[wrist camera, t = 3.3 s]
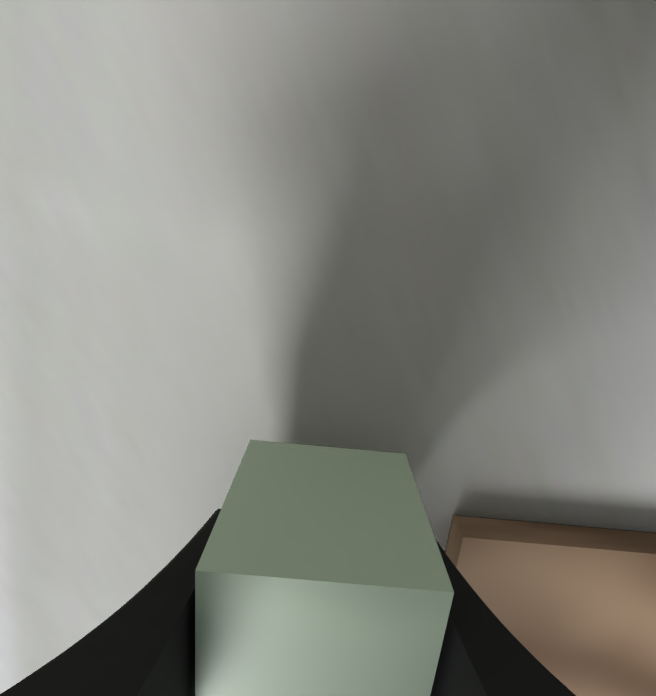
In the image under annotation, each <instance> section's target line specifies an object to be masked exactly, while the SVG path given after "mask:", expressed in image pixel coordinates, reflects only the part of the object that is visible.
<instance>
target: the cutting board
mask: <svg viewBox="0 0 656 696" xmlns="http://www.w3.org/2000/svg"><path fill="white" fill-rule="evenodd" d="M445 553H446V554H447V556H448V557H449V558H450V560H451V561H452V563H453V564H454V565H455V567H456V568H457V569H458V570H459V572H460V573H461V574H462V576H463V577H464V578H465V579H466V581H467V582H468V583H469V585H470V586H471V587H472V588H473V590H474V591H475V592H476V593H477V595H478V596H479V597H480V598H481V599H482V601H483V602H484V603H485V604H486V605H487V607H488V608H489V609H490V610H491V611H492V612H493V614H494V615H495V616H496V617H497V618H498V619H499V620H500V622H501V623H502V624H503V625H504V626H505V627H506V628H507V629H508V630H509V631H510V632H511V634H512V635H513V636H514V637H515V638H516V639H517V640H518V641H519V642H520V643H521V644H522V645H523V646H524V647H525V648H526V649H527V650H528V651H529V652H530V653H531V654H532V655H533V656H534V657H535V658H536V659H537V660H538V661H539V662H540V663H541V664H542V665H543V666H544V667H545V668H546V669H547V670H548V671H550V672H551V673H552V674H553V675H554V676H555V677H556V678H557V679H558V680H559V681H560V682H562V683H563V684H564V685H565V686H566V687H567V688H568V689H569V690H570V691H571V692H573V693H574V694H575V695H576V696H656V533H649V532H638V531H626V530H615V529H604V528H592V527H581V526H569V525H558V524H547V523H535V522H524V521H512V520H501V519H490V518H478V517H467V516H455V515H453V519H452V524H451V528H450V533H449V538H448V542H447V547H446V551H445Z"/></svg>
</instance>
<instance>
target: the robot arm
mask: <svg viewBox="0 0 656 696" xmlns="http://www.w3.org/2000/svg"><path fill="white" fill-rule="evenodd" d="M220 511H221V509H218V510H217V511H215V512H214V514H213V515H212V516H211V517H210V518H209V520H208V521H207V522H206V523H205V524H204V526H203V527H202V528H201V529H200V530H199V531H198V532H197V534H196V535H195V536H194V537H193V538H192V539H191V540H190V541H189V543H188V544H187V545H186V546H185V547H184V548H183V549H182V550H181V551H180V552H179V553H178V554H177V555H176V556H175V557H174V558H173V559H172V560H171V561H170V562H169V564H168V565H167V566H166V567H164V568H163V569H162V570H161V571H160V572H159V573H158V574H157V575H156V576H155V577H154V578H153V579H152V580H151V581H150V582H149V583H148V584H147V585H146V586H145V587H144V588H143V589H141V590H140V591H139V592H138V593H137V594H136V595H135V596H134V597H133V598H131V599H130V600H129V601H128V602H127V603H126V604H124V605H123V606H122V607H121V608H120V609H119V610H117V611H116V612H115V613H114V614H113V615H111V616H110V617H109V618H108V619H106V620H105V621H104V622H103V623H101V624H100V625H99V626H97V627H96V628H95V629H94V630H92V631H91V632H90V633H88V634H87V635H86V636H85V637H83V638H82V639H81V640H79V641H78V642H77V643H75V644H74V645H73V646H71V647H70V648H69V649H67V650H66V651H64V652H63V653H62V654H60V655H59V656H57V657H56V658H54V659H53V660H51V661H50V662H48V663H47V664H45V665H44V666H43V667H41V668H40V669H38V670H37V671H35V672H34V673H32V674H31V675H29V676H28V677H26V678H25V679H23V680H22V681H20V682H19V683H17V684H16V685H14V686H13V687H11V688H10V689H8V690H6V691H5V692H3V693H1V694H0V696H195V570H196V567H197V565H198V563H199V560H200V558H201V556H202V553H203V551H204V549H205V546H206V544H207V542H208V539H209V537H210V534H211V532H212V530H213V527H214V525H215V523H216V520H217V518H218V516H219V513H220ZM436 542H437V541H436ZM437 545H438V548H439V551H440V554H441V556H442V559H443V562H444V565H445V568H446V571H447V573H448V576H449V579H450V582H451V585H452V588H453V590H454V595H453V600H452V604H451V608H450V613H449V617H448V621H447V626H446V630H445V634H444V639H443V643H442V647H441V652H440V656H439V660H438V665H437V669H436V673H435V678H434V682H433V686H432V691H431V695H430V696H576V695H575V694H574V693H573V692H571V691H570V690H569V689H568V688H567V687H566V686H565V685H564V684H563V683H562V682H560V681H559V680H558V679H557V678H556V677H555V676H554V675H553V674H552V673H551V672H550V671H548V670H547V669H546V668H545V667H544V666H543V665H542V664H541V663H540V662H539V661H538V660H537V659H536V658H535V657H534V656H533V655H532V654H531V653H530V652H529V651H528V650H527V649H526V648H525V647H524V646H523V645H522V644H521V643H520V642H519V641H518V640H517V639H516V638H515V637H514V636H513V635H512V634H511V632H510V631H509V630H508V629H507V628H506V627H505V626H504V625H503V624H502V623H501V622H500V620H499V619H498V618H497V617H496V616H495V615H494V614H493V612H492V611H491V610H490V609H489V608H488V607H487V605H486V604H485V603H484V602H483V601H482V599H481V598H480V597H479V596H478V595H477V593H476V592H475V591H474V590H473V588H472V587H471V586H470V585H469V583H468V582H467V581H466V579H465V578H464V577H463V576H462V574H461V573H460V572H459V570H458V569H457V568H456V567H455V565H454V564H453V563H452V561H451V560H450V558H449V557H448V556H447V554H446V553H445V552H444V550H443V549H442V548H441V546H440V545H439V543H438V542H437Z"/></svg>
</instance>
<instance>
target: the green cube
mask: <svg viewBox="0 0 656 696" xmlns="http://www.w3.org/2000/svg"><path fill="white" fill-rule="evenodd" d="M453 595H454V590H453V588H452V585H451V582H450V579H449V576H448V573H447V571H446V568H445V565H444V562H443V559H442V556H441V554H440V551H439V548H438V545H437V542H436V539H435V536H434V534H433V531H432V528H431V525H430V522H429V519H428V517H427V514H426V511H425V508H424V505H423V502H422V500H421V497H420V494H419V491H418V488H417V485H416V483H415V480H414V477H413V474H412V471H411V468H410V465H409V463H408V460H407V457H406V454H404V453H392V452H381V451H370V450H359V449H348V448H337V447H325V446H314V445H303V444H292V443H281V442H270V441H258V440H250V442H249V445H248V447H247V449H246V452H245V454H244V456H243V459H242V461H241V464H240V466H239V468H238V471H237V473H236V475H235V478H234V480H233V482H232V485H231V487H230V490H229V492H228V494H227V497H226V499H225V501H224V504H223V506H222V508H221V511H220V513H219V516H218V518H217V520H216V523H215V525H214V527H213V530H212V532H211V534H210V537H209V539H208V542H207V544H206V546H205V549H204V551H203V553H202V556H201V558H200V560H199V563H198V565H197V567H196V570H195V696H430V695H431V691H432V686H433V682H434V678H435V673H436V669H437V665H438V660H439V656H440V652H441V647H442V643H443V639H444V634H445V630H446V626H447V621H448V617H449V613H450V608H451V604H452V600H453Z"/></svg>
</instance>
